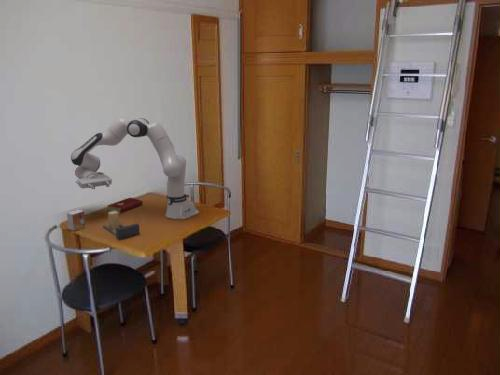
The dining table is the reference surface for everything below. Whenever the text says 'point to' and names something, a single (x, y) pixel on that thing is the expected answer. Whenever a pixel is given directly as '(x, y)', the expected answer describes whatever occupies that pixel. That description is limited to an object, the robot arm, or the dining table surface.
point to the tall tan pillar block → (113, 220)
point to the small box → (76, 220)
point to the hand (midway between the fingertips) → (101, 186)
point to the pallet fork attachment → (124, 231)
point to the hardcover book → (125, 205)
